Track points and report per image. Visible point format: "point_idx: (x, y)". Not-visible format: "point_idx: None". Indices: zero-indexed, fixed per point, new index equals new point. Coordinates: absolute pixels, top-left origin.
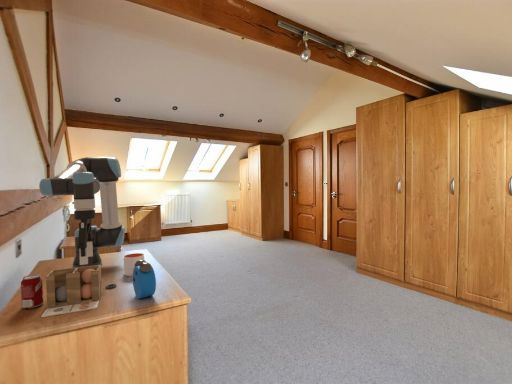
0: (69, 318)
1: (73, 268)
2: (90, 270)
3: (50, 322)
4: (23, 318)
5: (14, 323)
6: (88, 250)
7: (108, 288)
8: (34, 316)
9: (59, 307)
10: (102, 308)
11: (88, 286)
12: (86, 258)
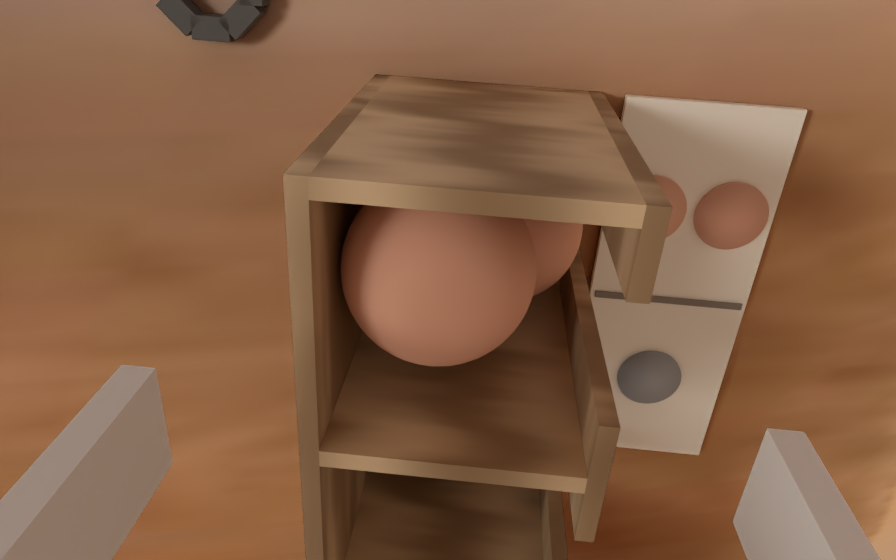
0: (867, 296)
1: (320, 486)
2: (478, 299)
3: (840, 395)
4: (635, 522)
5: (689, 547)
6: (97, 519)
7: (263, 7)
8: (643, 480)
9: None
10: (846, 57)
11: (555, 238)
12: (848, 532)
